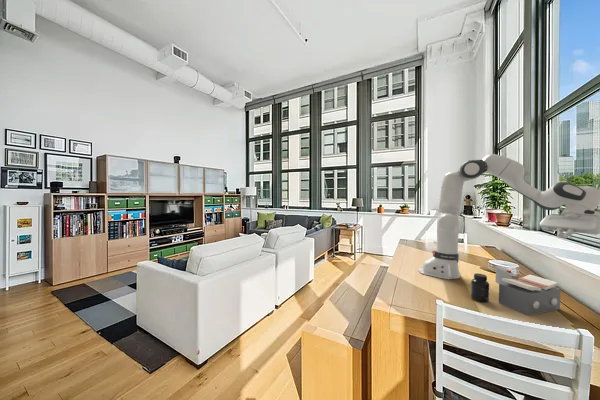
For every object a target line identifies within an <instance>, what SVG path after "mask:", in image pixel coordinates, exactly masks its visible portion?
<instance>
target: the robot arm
mask: <svg viewBox="0 0 600 400" xmlns="http://www.w3.org/2000/svg"><path fill="white" fill-rule="evenodd" d="M525 172H526V171H525V166H524V165H523V164H521V162H519V161H517V160H514V159H512V158H510V157H509V158H508V157H506V156H504V155H503V156H502V155H500V154H495V153H489V154H487V155H484V157H483V158H482V159H470V160H469V159H468V160H467V161H464V162H463V163H462V164H461V165H460V166H459V168H458V170H457V171H450V172H447V173H445V174H444V176H443V179H442V182H441V186H440V187H441V188H440V195H439V206H438V214H437V220H436V222H437V223H436V225H437V227H436V250H435V249H432V251H431V252H432V256H431V257H429V258H427V259H426V260H424V261H423V264H422V266H420V267H419V268H418V272H419V274H421V275H426V276H431V277H435V278H440V279H444V280H452V279H455V280H457V279H460V278H461V273H460V269H459V262H460V261H459V260H460V255H459V235H460V234H459V233H460V231H459V230H460V220H459V218H460V217H459V216H460V209H461V205H462V198H463V197H462V196H463V188H464V184H465V182H467V181H472V180H476V179H478V178H479V177H481V176H482V175H483V174H489V175H492V176H494V177H497V178H498V179H500V180H502V181H503V182H505V184H506V185H507V186H508V187H509V188H510V189H512V190H513V191H515V192H517V193H518V194H520V195H522V196H523V197H525V198H527V199H529V200H530V201H531V202H533V203H534V204H535V205H537V207H539V208H540V209H543V210H546V211H556V210H558V209H559V208H561V207H563V206H565V207H564V208H563V210H562V212H561V213H556V214H554V213H550V214H547V215H545V217H544V218H543V219H542V220H541V221H540V222H539V226H540V227H541V229H542V230H546V231H556V232H557V234H556V237H557V238H559V239H560V238H561V239H568V237H570V236H572V235H574V234H586V235H595V236H596V235H600V211H598V210H597V211H596V209H597V207H598V206H599V204H600V189H598V188H597V187H594V186H590V185H588V186H587V185H585V186H584V185H583V186H579V185H575V184H573V183H570V182H566V181H565V182H564V181H563V182H562V181H561V182H557V183H555V184H553V185H552V186H550V187H549V188H548V189H546V190H544V191H543V190H539V189H538V188H535V187H534V186H532V185H531V184H529V183H527V182H526V181H525V179H524V177H525V174H526V173H525Z"/></svg>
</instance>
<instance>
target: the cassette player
mask: <svg viewBox="0 0 600 400" xmlns="http://www.w3.org/2000/svg"><path fill="white" fill-rule="evenodd" d="M502 278H507V279H517V280H518V278H520V277H519V275H517V274H515V273H513V272H512V270H510V269H508V268H507V267H504V266H503V265H498V266H495V283H496V284H498V285H499V284H502V283H508V282H505V281H502Z"/></svg>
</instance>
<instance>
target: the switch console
mask: <svg viewBox="0 0 600 400" xmlns="http://www.w3.org/2000/svg"><path fill="white" fill-rule="evenodd" d="M498 285H499V286H498V304H500V305H503V306H505V307H507V308H509V309H511V310H514V311H517V312H518V311H519V313H520V314H523V313H524V314H523V315H526V316H532V315H536V314H541V313H548V312H553V311H558V310H560V309H561V291H562V290H561V288H558V287H556V286H554V287H552V288H551V289H547V290H544V289H541V291H539V290H534V291H530V290H527V289H524V288H521V287H518V286H515V285H512V284H509V283H502V284H498Z"/></svg>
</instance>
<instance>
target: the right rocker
mask: <svg viewBox="0 0 600 400" xmlns="http://www.w3.org/2000/svg"><path fill="white" fill-rule="evenodd" d="M518 280H520V281H523V282H526V283H529V284H533V285H536V286H539V287H542V288H541V289H544V290H547V289H551V288H552V287H557V286H559V282H558V281H555V280H551V279H546V278H543V277H541V276H536V275H533V274H527V275H525V276H523V277H518Z"/></svg>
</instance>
